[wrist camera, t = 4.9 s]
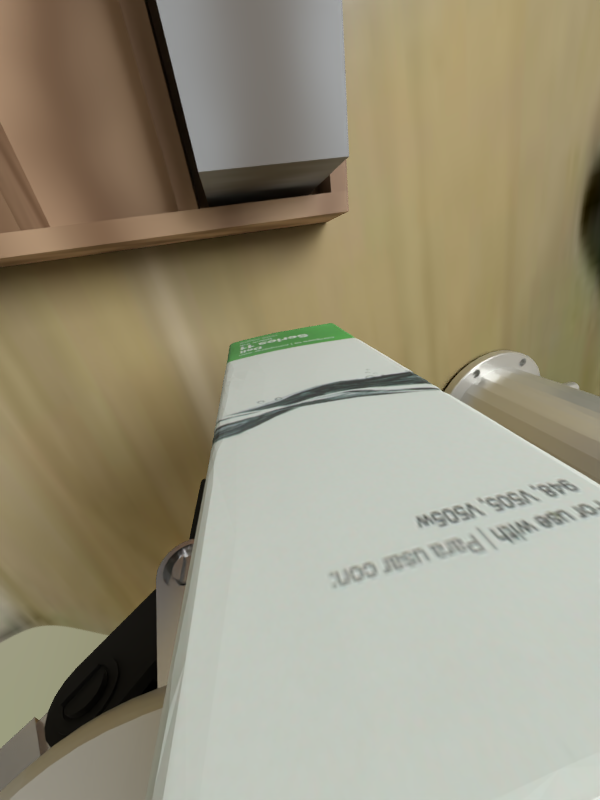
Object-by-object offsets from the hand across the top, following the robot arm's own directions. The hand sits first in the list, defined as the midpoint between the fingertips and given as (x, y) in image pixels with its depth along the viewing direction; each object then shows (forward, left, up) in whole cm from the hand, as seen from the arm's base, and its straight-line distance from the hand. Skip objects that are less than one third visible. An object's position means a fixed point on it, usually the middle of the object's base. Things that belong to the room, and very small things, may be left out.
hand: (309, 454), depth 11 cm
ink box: (0, 0, -3) cm, 3 cm away
